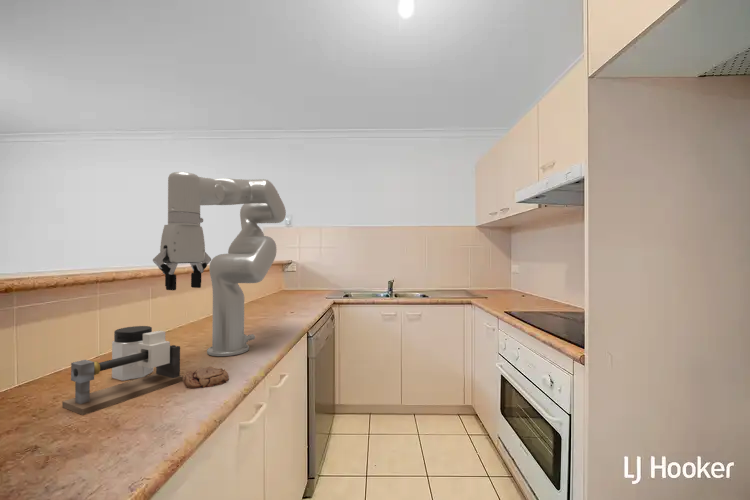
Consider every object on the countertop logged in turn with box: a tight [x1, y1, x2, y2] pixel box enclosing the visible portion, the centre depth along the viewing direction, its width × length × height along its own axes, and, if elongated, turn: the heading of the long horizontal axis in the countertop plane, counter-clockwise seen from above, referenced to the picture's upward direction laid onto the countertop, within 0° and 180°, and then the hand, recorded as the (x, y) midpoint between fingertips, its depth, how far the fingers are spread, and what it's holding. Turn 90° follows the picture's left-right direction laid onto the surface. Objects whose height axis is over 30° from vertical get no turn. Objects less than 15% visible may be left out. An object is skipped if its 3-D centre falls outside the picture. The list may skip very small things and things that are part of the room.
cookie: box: [183, 366, 230, 389], centre depth 88 cm, size 10×11×3 cm
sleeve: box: [138, 330, 171, 369], centre depth 86 cm, size 4×5×8 cm
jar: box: [111, 325, 154, 382], centre depth 92 cm, size 9×8×12 cm
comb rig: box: [61, 344, 184, 416], centre depth 81 cm, size 21×8×9 cm, turn 154°
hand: (183, 288), depth 93 cm, fingers open, 6 cm apart
